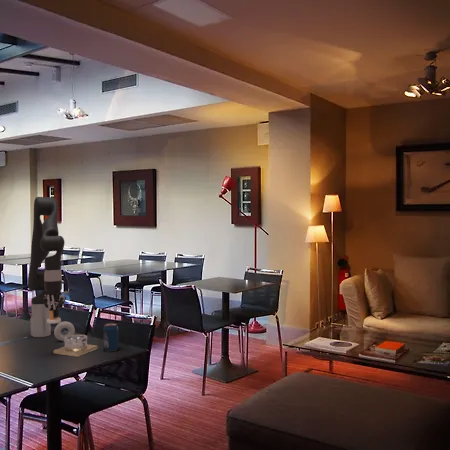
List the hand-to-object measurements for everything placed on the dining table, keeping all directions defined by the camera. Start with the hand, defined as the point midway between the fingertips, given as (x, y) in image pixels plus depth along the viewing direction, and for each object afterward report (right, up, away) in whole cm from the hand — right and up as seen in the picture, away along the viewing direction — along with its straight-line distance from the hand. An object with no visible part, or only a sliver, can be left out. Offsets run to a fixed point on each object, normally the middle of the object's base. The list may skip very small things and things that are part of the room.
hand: (54, 317), depth 233 cm
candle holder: (+9, -17, +5) cm, 19 cm away
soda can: (+25, -17, +7) cm, 30 cm away
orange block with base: (0, -2, 0) cm, 2 cm away
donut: (-3, -17, +24) cm, 29 cm away
